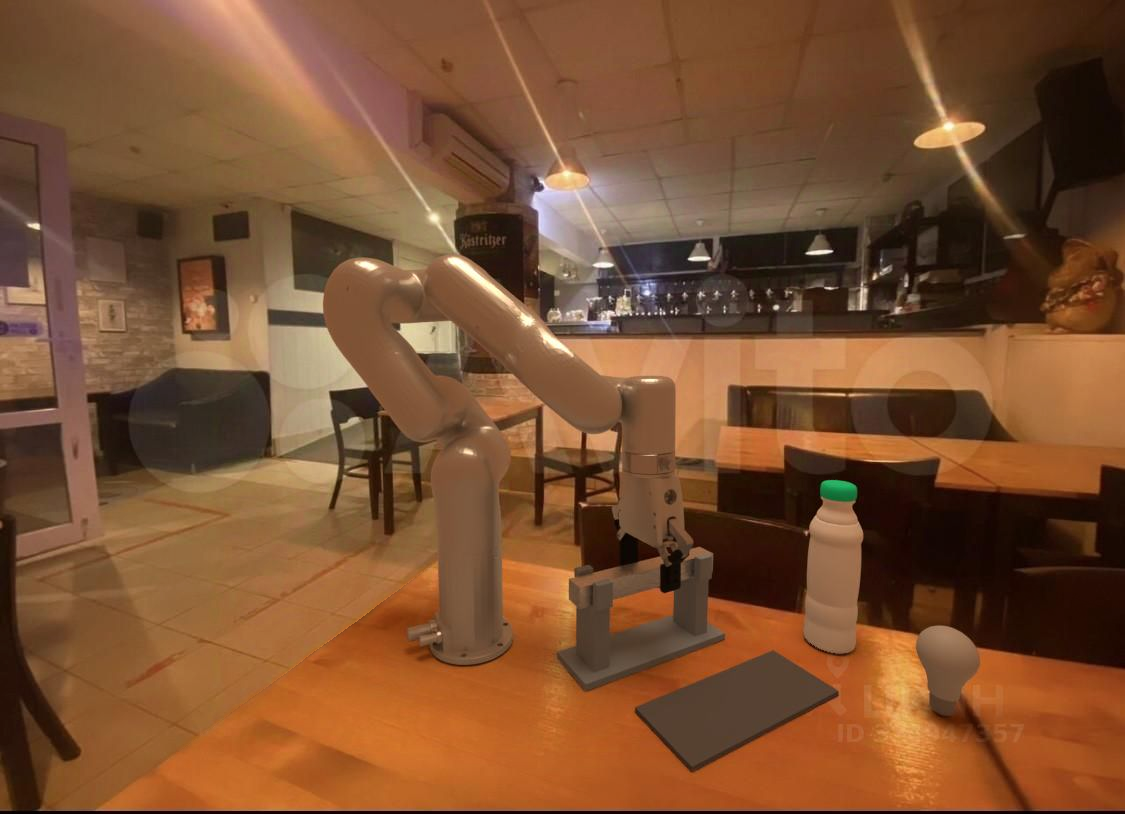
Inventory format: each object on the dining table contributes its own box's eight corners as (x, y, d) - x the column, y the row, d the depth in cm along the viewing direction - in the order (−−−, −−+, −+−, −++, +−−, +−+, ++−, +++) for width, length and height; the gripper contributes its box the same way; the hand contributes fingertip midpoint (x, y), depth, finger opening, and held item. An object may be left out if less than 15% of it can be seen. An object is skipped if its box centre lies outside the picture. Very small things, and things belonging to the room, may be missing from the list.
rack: (585, 691, 65) (586, 593, 63) (557, 658, 72) (557, 568, 70) (724, 639, 76) (728, 555, 75) (688, 615, 83) (691, 538, 82)
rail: (579, 609, 66) (579, 587, 66) (568, 599, 69) (568, 578, 68) (712, 571, 77) (713, 553, 77) (698, 564, 80) (699, 546, 80)
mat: (691, 772, 52) (691, 766, 52) (634, 711, 61) (635, 707, 61) (838, 695, 64) (838, 690, 64) (773, 653, 73) (773, 650, 73)
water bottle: (842, 630, 79) (852, 477, 76) (864, 657, 72) (876, 489, 69) (796, 628, 80) (804, 476, 77) (813, 654, 73) (823, 488, 70)
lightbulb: (960, 703, 63) (968, 620, 61) (983, 738, 57) (992, 648, 56) (904, 692, 65) (910, 612, 63) (920, 725, 59) (928, 638, 58)
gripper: (712, 471, 65) (710, 595, 67) (633, 449, 80) (633, 551, 82) (667, 478, 62) (667, 609, 63) (594, 454, 77) (595, 560, 79)
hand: (648, 576), depth 73 cm, fingers open, 9 cm apart
